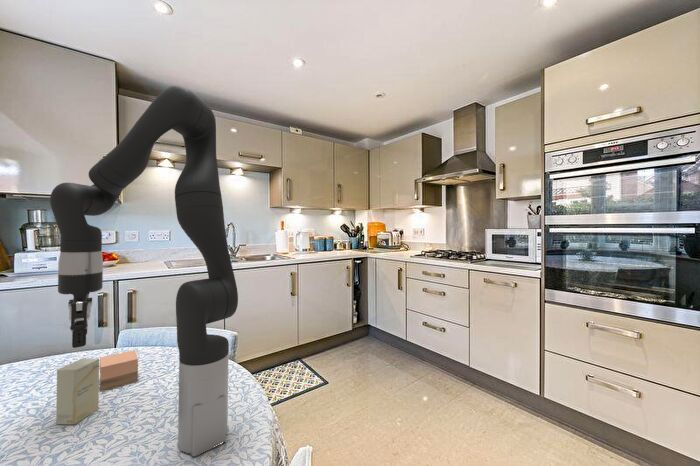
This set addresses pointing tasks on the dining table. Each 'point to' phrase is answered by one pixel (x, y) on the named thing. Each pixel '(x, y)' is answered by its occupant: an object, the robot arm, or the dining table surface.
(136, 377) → the walnut slab
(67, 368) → the skincare box
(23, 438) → the dining table surface
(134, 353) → the terracotta slab
